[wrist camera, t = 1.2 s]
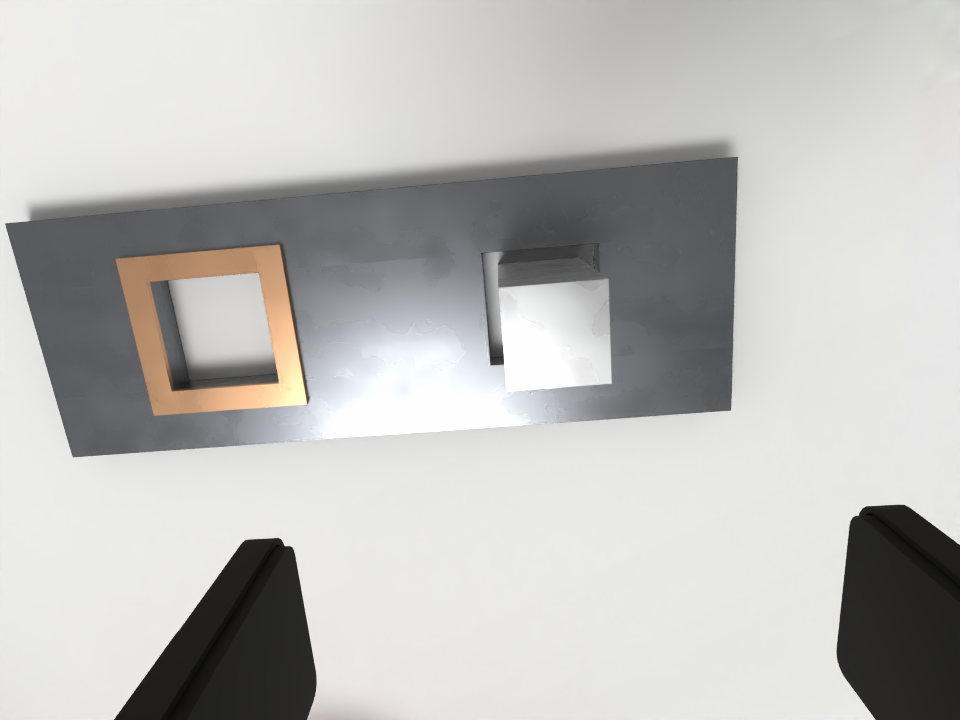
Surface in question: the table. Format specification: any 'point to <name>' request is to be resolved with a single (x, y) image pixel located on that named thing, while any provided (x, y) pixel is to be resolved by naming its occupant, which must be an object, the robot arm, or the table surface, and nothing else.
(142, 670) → the table surface
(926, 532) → the robot arm
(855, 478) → the table surface
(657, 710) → the table surface
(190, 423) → the grey board with holes
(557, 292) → the steel rectangular block
